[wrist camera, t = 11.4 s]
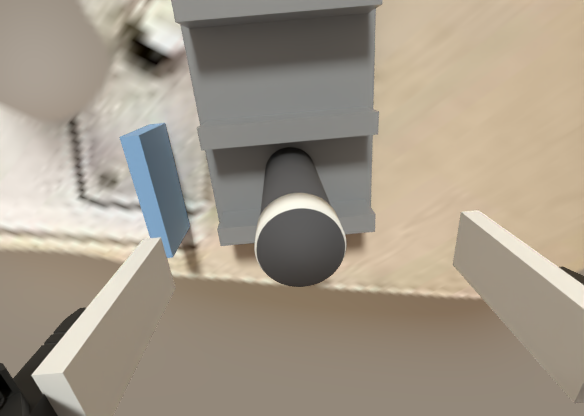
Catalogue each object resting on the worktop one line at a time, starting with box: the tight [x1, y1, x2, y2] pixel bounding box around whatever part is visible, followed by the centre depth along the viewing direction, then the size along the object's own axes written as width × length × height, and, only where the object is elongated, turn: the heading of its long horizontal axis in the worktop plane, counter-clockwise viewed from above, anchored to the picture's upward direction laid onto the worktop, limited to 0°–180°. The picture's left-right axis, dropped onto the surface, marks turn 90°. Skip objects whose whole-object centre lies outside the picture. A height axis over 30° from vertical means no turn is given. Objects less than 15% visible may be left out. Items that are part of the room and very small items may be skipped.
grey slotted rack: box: [171, 0, 382, 246], centre depth 21 cm, size 13×25×4 cm, turn 5°
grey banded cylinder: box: [254, 147, 346, 287], centre depth 19 cm, size 4×4×12 cm
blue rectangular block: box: [120, 123, 190, 258], centre depth 23 cm, size 1×9×5 cm, turn 4°
